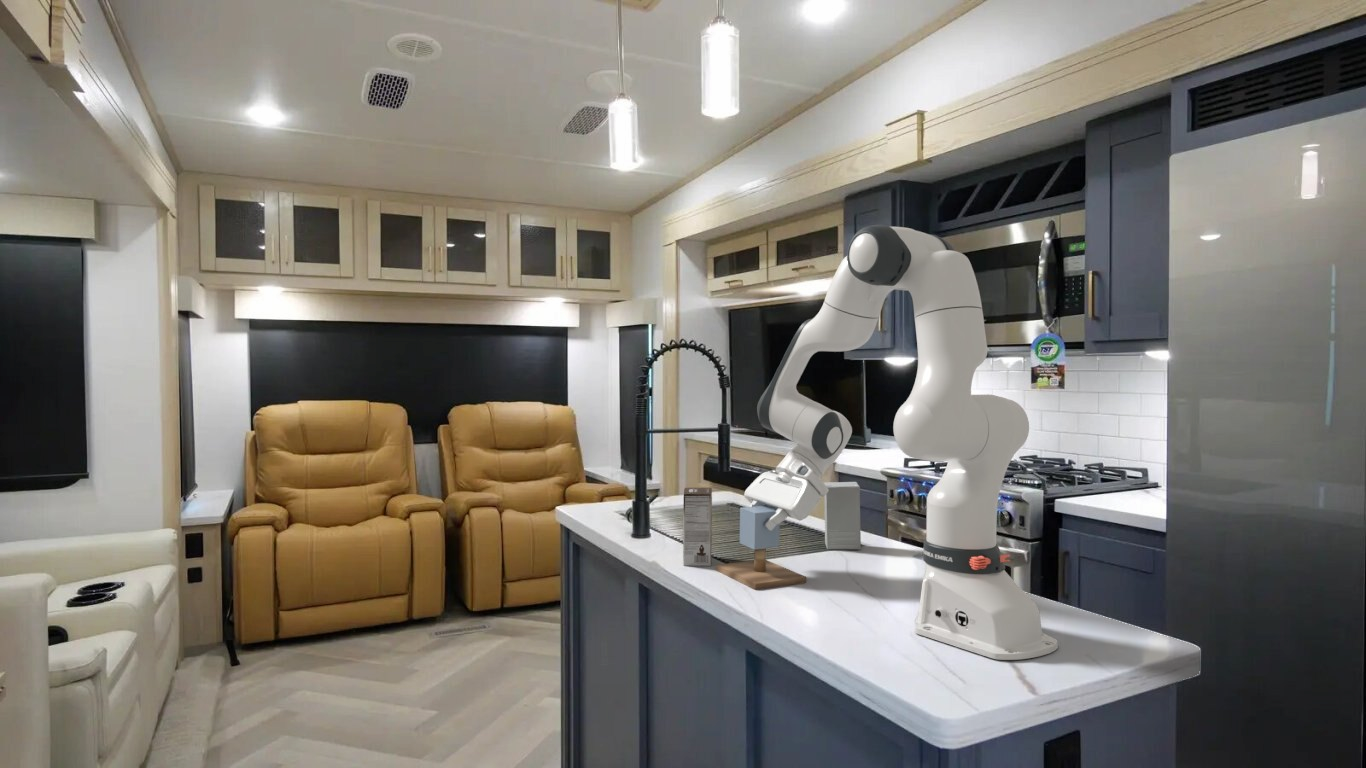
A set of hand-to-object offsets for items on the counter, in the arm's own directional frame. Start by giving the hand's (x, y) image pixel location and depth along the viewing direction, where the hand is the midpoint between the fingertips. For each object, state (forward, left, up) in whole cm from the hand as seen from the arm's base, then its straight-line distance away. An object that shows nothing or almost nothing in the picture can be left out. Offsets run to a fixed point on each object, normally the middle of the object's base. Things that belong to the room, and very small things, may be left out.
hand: (756, 524), depth 158 cm
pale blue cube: (0, -1, -4) cm, 4 cm away
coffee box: (+17, +5, -11) cm, 21 cm away
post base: (0, -1, -11) cm, 11 cm away
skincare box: (+14, -33, -11) cm, 37 cm away
